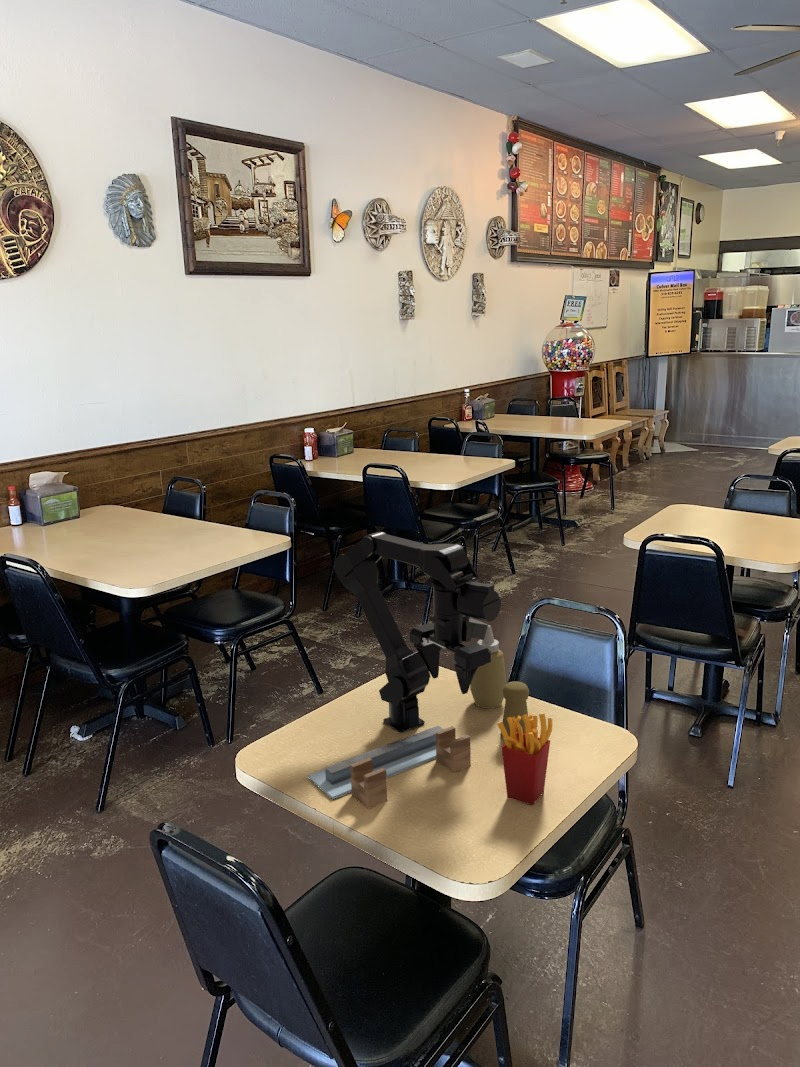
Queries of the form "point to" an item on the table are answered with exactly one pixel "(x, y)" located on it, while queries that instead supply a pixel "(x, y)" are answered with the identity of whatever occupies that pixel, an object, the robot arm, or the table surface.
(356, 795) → the stand near
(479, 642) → the squeeze bottle
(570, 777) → the table surface
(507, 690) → the pepper mill
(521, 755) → the french fries
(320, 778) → the mat
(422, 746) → the rail
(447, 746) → the stand far
